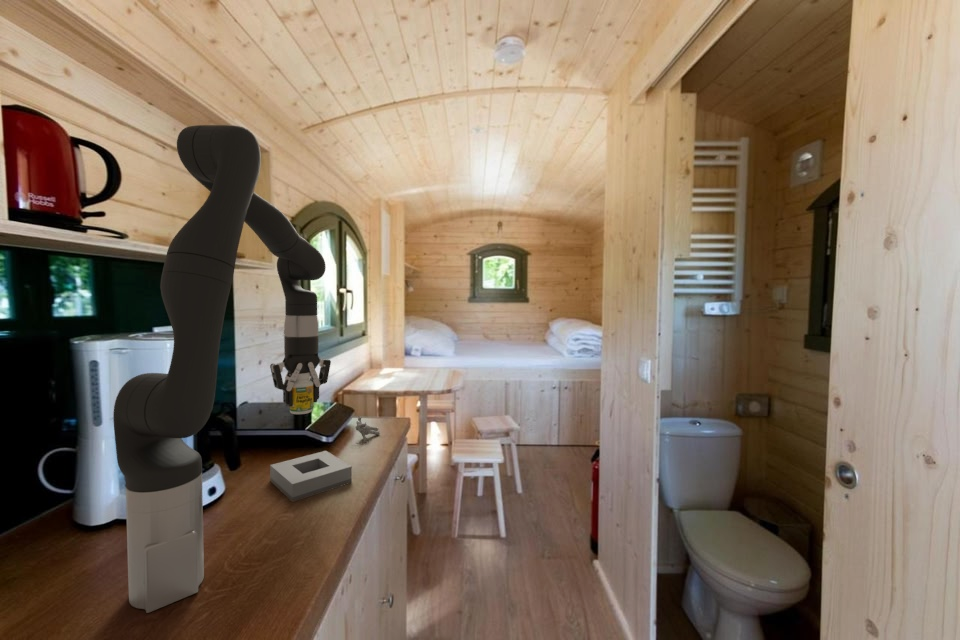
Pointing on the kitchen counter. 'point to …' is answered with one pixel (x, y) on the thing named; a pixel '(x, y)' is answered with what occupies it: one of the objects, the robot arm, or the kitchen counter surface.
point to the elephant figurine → (366, 429)
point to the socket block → (310, 475)
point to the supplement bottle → (302, 395)
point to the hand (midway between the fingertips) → (301, 403)
